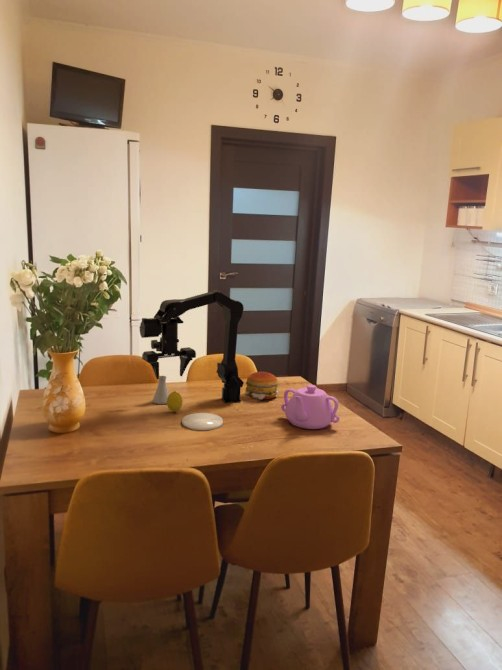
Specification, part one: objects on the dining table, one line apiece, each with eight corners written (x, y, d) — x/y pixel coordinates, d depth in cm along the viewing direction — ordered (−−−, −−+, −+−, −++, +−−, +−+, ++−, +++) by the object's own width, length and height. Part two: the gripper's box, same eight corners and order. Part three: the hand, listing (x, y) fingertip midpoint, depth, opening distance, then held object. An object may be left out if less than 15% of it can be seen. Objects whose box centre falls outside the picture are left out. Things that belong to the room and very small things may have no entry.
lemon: (179, 415, 187) (179, 394, 186) (164, 414, 188) (164, 392, 187) (184, 410, 193) (184, 389, 191) (169, 409, 194) (170, 388, 192)
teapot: (264, 428, 180) (266, 389, 177) (290, 410, 199) (292, 374, 196) (325, 442, 170) (328, 401, 167) (346, 422, 189) (349, 385, 186)
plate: (219, 415, 190) (219, 412, 190) (225, 429, 176) (225, 426, 176) (180, 416, 187) (180, 413, 187) (183, 431, 174) (183, 428, 173)
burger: (278, 392, 219) (280, 369, 217) (277, 403, 206) (278, 378, 204) (246, 390, 220) (248, 367, 218) (243, 400, 207) (244, 376, 205)
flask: (169, 405, 198) (170, 379, 195) (150, 404, 198) (150, 378, 196) (172, 399, 205) (173, 374, 203) (154, 398, 205) (154, 373, 203)
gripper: (184, 329, 200) (183, 369, 203) (136, 333, 190) (137, 374, 194) (196, 335, 191) (196, 376, 194) (147, 339, 181) (147, 383, 184)
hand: (169, 377), depth 192 cm, fingers open, 9 cm apart
